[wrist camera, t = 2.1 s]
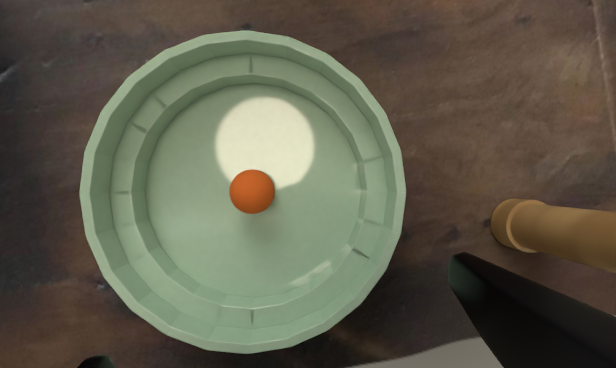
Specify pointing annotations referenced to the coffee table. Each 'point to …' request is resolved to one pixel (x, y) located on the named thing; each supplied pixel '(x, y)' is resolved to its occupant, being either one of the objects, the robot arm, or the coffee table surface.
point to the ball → (252, 191)
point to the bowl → (216, 198)
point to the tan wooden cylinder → (557, 231)
